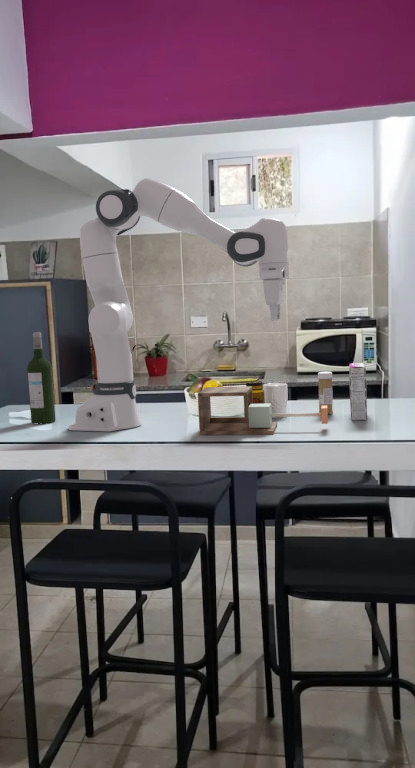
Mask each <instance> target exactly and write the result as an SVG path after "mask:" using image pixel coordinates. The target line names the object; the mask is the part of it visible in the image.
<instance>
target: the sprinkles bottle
mask: <svg viewBox="0 0 415 768" xmlns="http://www.w3.org/2000/svg"><path fill="white" fill-rule="evenodd" d="M317 379H318V413H321V407H322V406H325V405H327V413H328V415H332V414H333V413H334V411H333V410H334V409H333V401H334V400H333V398H334V397H333V372H332V371H319V372H317Z"/></svg>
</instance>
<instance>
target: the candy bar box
mask: <svg viewBox="0 0 415 768" xmlns="http://www.w3.org/2000/svg"><path fill="white" fill-rule="evenodd" d="M348 367H349V371H348V372H349V374H348V375H349V401H350V403H349V405H350V418H351V421H354V420H358V421H367V420H368V405H367V403H368V402H367V398H368V397H367V370H366V363H365V362H351V363H349V366H348Z"/></svg>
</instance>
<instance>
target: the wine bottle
mask: <svg viewBox="0 0 415 768" xmlns="http://www.w3.org/2000/svg"><path fill="white" fill-rule="evenodd" d="M32 341H33V343H32V344H33V357H32V358H31V359H30V361H29V362H28V364H27V366H26V369H27V370H26V371H27V382H28V395H29V410H30V421H31V424H32V423H38V424H37V425H45V424H44V423H48V424H53V423H55V422H56V411H55V410H56V408H55V406H56V405H55V393H54V381H53V367H52V364H51V362H50V361H49V360H48V359H47V358H45V356H44V350H43V341H42V333H41V331H38V332H37V331H35V332H32ZM52 422H53V423H52ZM40 423H42V424H40Z"/></svg>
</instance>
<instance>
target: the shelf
mask: <svg viewBox="0 0 415 768" xmlns="http://www.w3.org/2000/svg"><path fill="white" fill-rule="evenodd" d="M248 394H249V405H250V404H253V399H252V386H248V387H246V386H219V387H218V386H214V387H212V386H210V387H204V388H203V389H202V390H200V391H199V392H197V404H198V406H197V407H198V409H197V410H198V425H199V435H200V436H220V435H221V436H227V435H229V436H230V435H233V436H234V435H235V436H236V435H237V436H238V435H241V436H242V435H243V436H245V435H275V431H276V430H277V428H278V422H272V425H271V427H270V428H249V417H248ZM242 396H243V410H244V411H243V413H244V414H243V416H214V417H213V416H212V408H211V397H242Z"/></svg>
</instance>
